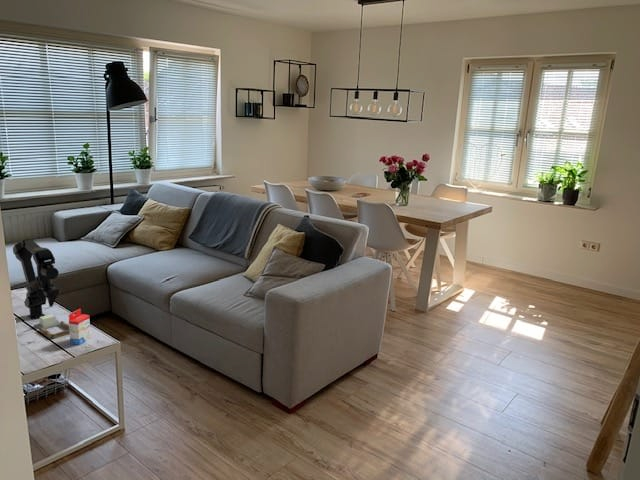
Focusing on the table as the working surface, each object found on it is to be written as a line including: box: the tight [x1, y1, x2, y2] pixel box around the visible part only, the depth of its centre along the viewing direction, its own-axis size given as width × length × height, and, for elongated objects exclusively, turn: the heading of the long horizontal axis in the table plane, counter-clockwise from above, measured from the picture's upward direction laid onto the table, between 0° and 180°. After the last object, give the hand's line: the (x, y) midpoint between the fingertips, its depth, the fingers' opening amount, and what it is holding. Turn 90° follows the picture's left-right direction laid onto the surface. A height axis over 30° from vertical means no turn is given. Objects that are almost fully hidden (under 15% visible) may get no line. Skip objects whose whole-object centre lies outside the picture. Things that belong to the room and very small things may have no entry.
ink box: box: [68, 308, 91, 346], centre depth 231 cm, size 8×5×15 cm, turn 168°
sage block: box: [39, 313, 57, 327], centre depth 247 cm, size 4×6×4 cm, turn 142°
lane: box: [38, 320, 70, 340], centre depth 240 cm, size 13×11×2 cm
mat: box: [34, 319, 61, 330], centre depth 247 cm, size 8×10×1 cm
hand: (46, 304), depth 245 cm, fingers open, 9 cm apart
